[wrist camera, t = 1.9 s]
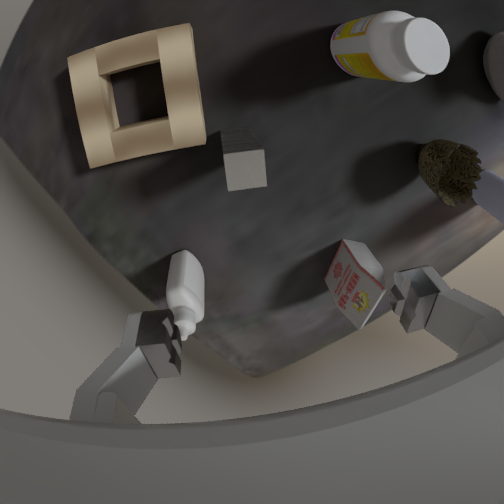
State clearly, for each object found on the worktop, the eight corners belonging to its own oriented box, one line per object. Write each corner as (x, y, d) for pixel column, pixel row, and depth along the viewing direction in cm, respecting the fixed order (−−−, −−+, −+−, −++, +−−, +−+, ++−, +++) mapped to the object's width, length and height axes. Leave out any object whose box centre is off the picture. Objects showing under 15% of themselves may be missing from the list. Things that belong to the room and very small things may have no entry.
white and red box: (364, 243, 40) (398, 289, 32) (345, 281, 43) (371, 330, 35) (342, 238, 39) (373, 286, 31) (323, 278, 43) (347, 330, 34)
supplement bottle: (382, 79, 28) (458, 93, 17) (329, 75, 27) (393, 82, 17) (380, 25, 24) (456, 18, 13) (326, 18, 24) (389, -3, 13)
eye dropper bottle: (206, 249, 38) (206, 320, 28) (203, 284, 41) (204, 356, 31) (171, 247, 37) (160, 317, 27) (171, 282, 40) (163, 353, 30)
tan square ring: (81, 58, 23) (67, 57, 20) (192, 28, 23) (189, 23, 20) (101, 158, 29) (90, 168, 26) (206, 136, 30) (205, 144, 27)
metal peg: (220, 130, 30) (223, 154, 21) (248, 126, 30) (263, 149, 22) (223, 156, 31) (228, 191, 23) (251, 153, 32) (266, 186, 23)
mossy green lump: (401, 184, 36) (436, 212, 29) (400, 130, 31) (440, 149, 25) (442, 177, 35) (478, 201, 29) (444, 126, 31) (485, 144, 25)
